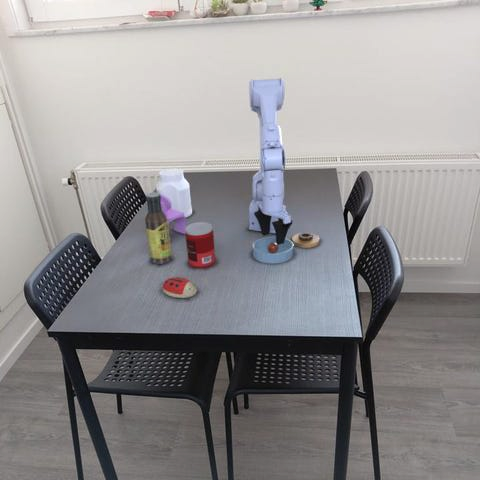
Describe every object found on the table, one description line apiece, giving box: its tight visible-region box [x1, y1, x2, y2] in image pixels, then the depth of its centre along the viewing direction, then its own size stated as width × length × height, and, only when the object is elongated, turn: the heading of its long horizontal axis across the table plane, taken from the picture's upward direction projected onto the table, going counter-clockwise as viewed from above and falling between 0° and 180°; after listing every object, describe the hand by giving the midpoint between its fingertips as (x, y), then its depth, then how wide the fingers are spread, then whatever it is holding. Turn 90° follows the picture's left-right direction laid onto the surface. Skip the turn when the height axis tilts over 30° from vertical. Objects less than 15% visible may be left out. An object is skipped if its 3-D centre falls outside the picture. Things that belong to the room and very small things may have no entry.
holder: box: [291, 232, 320, 249], centre depth 148 cm, size 8×8×2 cm
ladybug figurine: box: [161, 276, 198, 299], centre depth 125 cm, size 7×10×4 cm
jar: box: [155, 167, 193, 219], centre depth 168 cm, size 12×10×15 cm
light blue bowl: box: [251, 236, 295, 265], centre depth 141 cm, size 12×12×3 cm
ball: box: [268, 242, 278, 253], centre depth 141 cm, size 3×3×3 cm
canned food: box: [184, 221, 216, 269], centre depth 136 cm, size 8×8×11 cm
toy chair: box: [160, 194, 187, 235], centre depth 152 cm, size 8×9×15 cm
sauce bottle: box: [145, 191, 172, 265], centre depth 136 cm, size 6×6×20 cm
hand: (272, 239), depth 139 cm, fingers open, 7 cm apart
